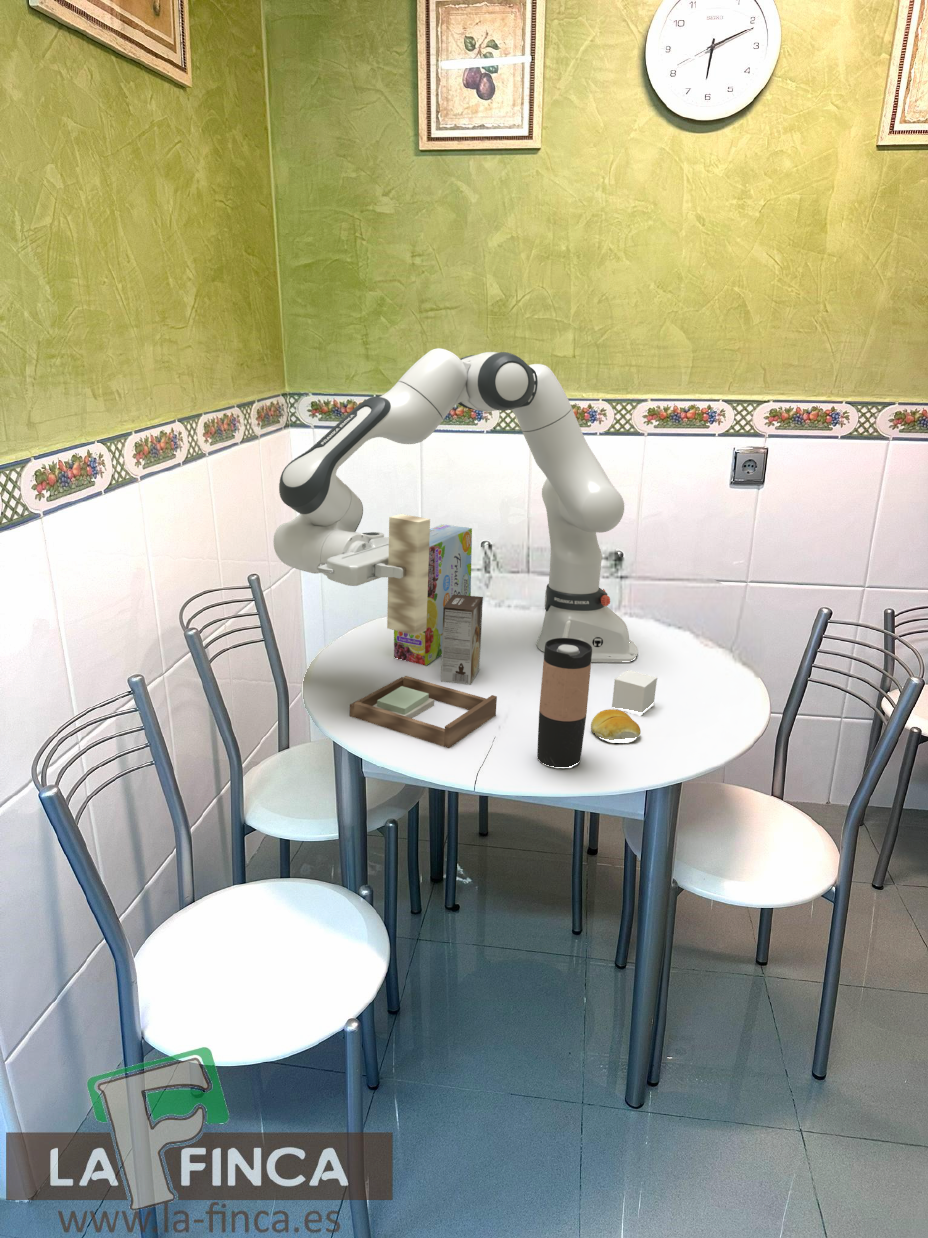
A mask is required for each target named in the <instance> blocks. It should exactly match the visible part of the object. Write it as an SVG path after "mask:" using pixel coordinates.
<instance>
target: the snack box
mask: <svg viewBox="0 0 928 1238" xmlns="http://www.w3.org/2000/svg"><path fill="white" fill-rule="evenodd" d="M472 545H473V528H472V527H466V526H465V527H464V526H458V525H452V524H442V523H441V524H439V525H436V526H434V527H432V528H431V527H430V539H429V568H428V596H427V625H426V631H424V632H422V633H419V634H417V635H411V634H407V633H403V632H400V631H396V630H393V658H394V657H395V658H398V659H397V660H399V659H402V660H401V661H404V660H406V661H405V662H408V661H409V663H413V664H418V665H420V666H425V667H427V666H428V665H429V664H431V663H432V662H434V661H435V660H437V658H439V657H440V656H441V657H442V635H443V607H444V606H445V605H446V603H447V602H448V601H449V599H450V598H451V597H452V595H454V594H455V595H467V596H472V595H471V593H472V592H471V590H472V588H471V587H472V553H473V552H472V550H473V548H472ZM395 658H394V659H395Z"/></svg>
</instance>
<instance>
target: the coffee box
mask: <svg viewBox="0 0 928 1238" xmlns="http://www.w3.org/2000/svg"><path fill="white" fill-rule="evenodd" d="M483 601H484V597H483V596H479V595H478V596H474V595H471V596H467V595H455V594H454V595H452V597H451V598H450V599H449V601H448V602H447V603H446V605H445V606H444V607H443V635H442V655H441V667H440V668H441V669H440V670H441V671H440V682H443V683H451V684H456V685H457V684H459V685H466V686H471V685H472V684H473V682H474V680H475V679H476V677H477V675H478V673H479V671H480V665H481V664H480V663H481V662H480V661H481V660H480V659H481V643H482V642H481V641H482V640H481V639H482V620H483Z"/></svg>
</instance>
